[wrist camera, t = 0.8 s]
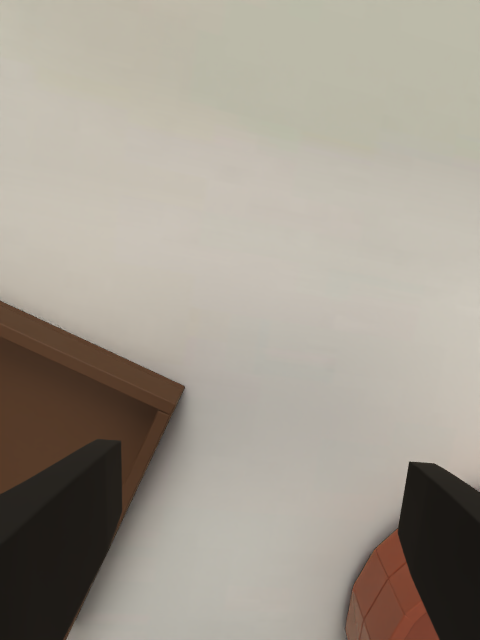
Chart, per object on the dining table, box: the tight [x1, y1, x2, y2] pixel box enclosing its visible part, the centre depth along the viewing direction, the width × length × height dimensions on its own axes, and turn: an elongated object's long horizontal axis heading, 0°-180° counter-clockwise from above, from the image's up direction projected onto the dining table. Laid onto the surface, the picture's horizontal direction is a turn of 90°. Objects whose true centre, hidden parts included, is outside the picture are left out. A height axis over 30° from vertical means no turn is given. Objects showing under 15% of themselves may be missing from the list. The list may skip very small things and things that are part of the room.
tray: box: [0, 301, 185, 640], centre depth 19 cm, size 15×12×3 cm
